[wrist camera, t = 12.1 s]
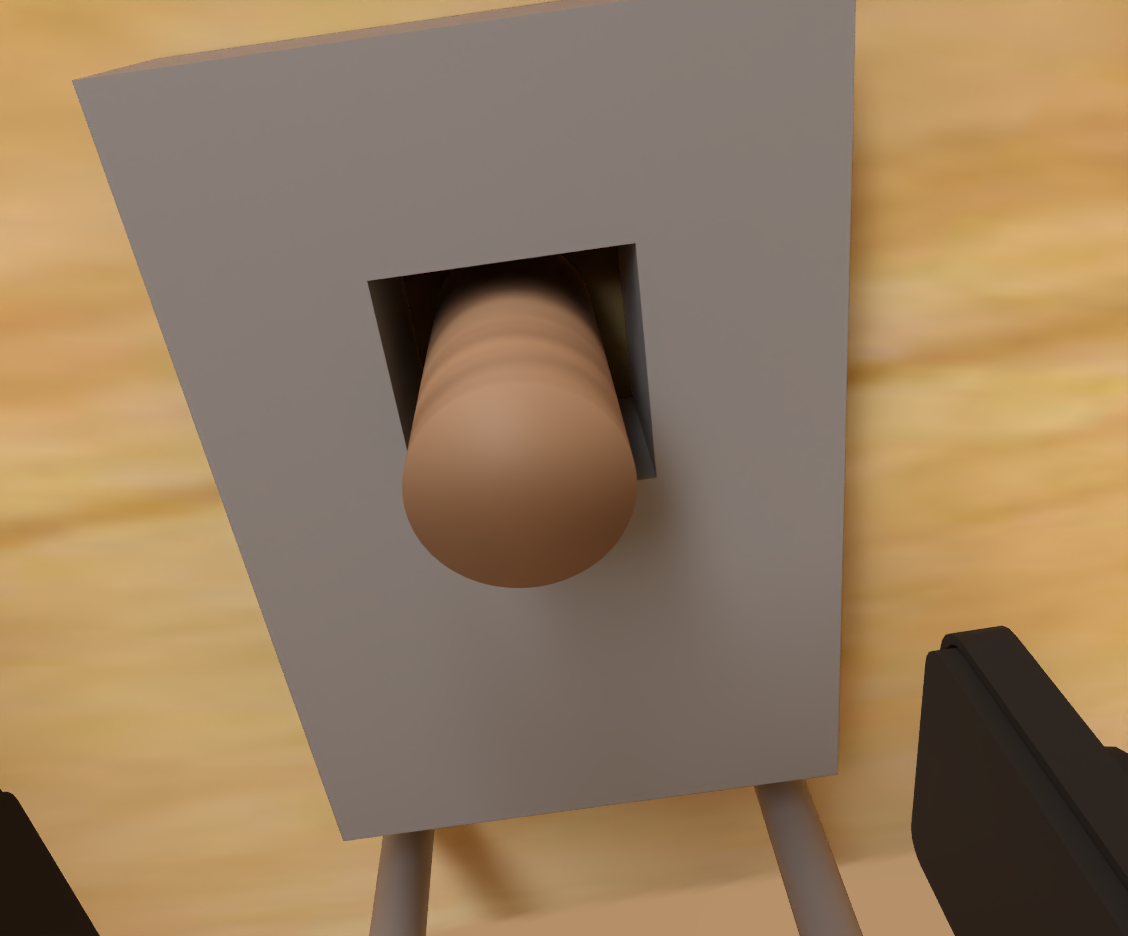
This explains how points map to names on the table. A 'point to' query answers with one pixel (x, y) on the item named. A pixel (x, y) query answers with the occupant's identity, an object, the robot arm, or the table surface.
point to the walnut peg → (517, 429)
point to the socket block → (394, 372)
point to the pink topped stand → (791, 831)
